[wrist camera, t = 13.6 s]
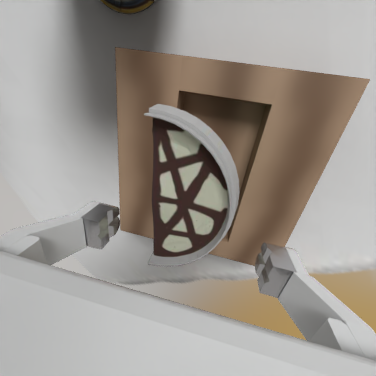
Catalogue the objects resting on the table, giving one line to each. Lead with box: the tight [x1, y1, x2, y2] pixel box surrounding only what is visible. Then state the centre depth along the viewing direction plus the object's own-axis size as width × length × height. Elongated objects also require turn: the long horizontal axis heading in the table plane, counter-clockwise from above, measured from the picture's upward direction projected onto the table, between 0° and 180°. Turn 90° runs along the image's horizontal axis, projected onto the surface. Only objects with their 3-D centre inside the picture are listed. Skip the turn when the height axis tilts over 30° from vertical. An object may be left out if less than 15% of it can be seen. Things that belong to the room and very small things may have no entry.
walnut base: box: [115, 47, 370, 266], centre depth 21 cm, size 20×20×6 cm
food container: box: [144, 104, 240, 266], centre depth 16 cm, size 12×6×10 cm, turn 175°
